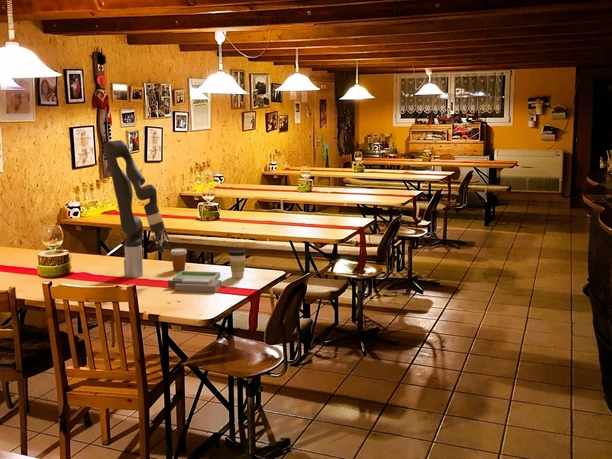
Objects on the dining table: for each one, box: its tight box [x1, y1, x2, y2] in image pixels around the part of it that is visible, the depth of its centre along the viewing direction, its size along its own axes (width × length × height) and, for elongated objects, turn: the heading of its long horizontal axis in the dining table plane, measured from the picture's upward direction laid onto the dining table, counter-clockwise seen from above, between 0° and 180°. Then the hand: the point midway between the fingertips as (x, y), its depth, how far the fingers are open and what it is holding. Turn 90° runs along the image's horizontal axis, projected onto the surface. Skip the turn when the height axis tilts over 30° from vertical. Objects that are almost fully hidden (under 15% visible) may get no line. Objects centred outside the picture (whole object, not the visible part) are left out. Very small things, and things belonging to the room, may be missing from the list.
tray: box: [172, 270, 221, 281], centre depth 342 cm, size 22×16×2 cm
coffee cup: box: [228, 248, 247, 280], centre depth 346 cm, size 10×10×15 cm
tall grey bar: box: [167, 278, 211, 288], centre depth 324 cm, size 22×5×5 cm, turn 84°
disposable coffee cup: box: [169, 248, 188, 273], centre depth 361 cm, size 10×10×12 cm
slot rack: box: [174, 279, 222, 294], centre depth 323 cm, size 21×12×4 cm, turn 84°
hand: (164, 250), depth 335 cm, fingers open, 8 cm apart
